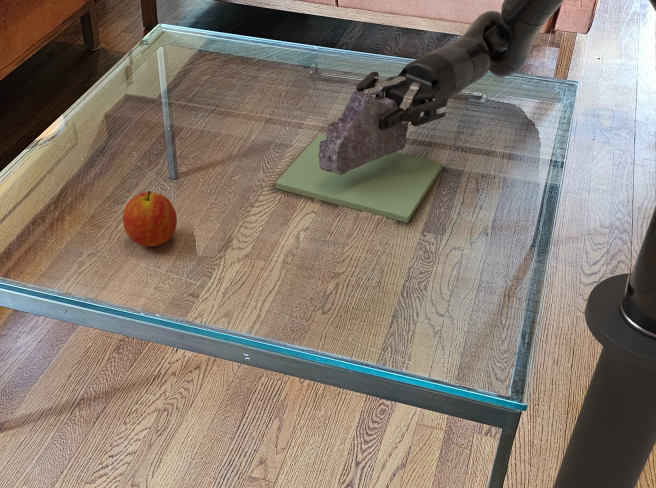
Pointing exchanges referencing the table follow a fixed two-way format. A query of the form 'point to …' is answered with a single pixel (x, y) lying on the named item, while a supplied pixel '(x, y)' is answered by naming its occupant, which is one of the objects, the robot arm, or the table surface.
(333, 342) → the table surface
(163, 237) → the fruit
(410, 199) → the mat
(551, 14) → the robot arm
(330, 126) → the stone
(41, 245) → the table surface
